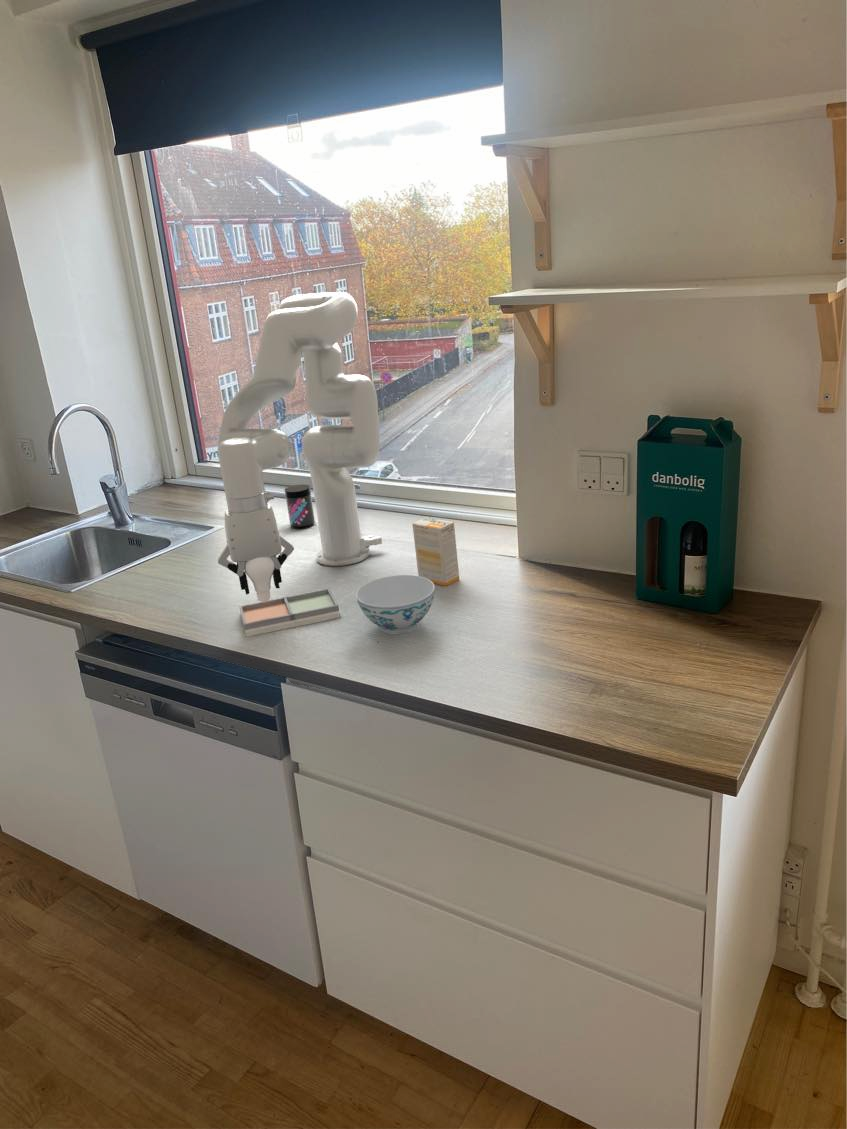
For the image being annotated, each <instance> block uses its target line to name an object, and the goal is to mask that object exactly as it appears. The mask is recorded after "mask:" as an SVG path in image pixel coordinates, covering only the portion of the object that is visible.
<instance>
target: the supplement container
mask: <svg viewBox="0 0 847 1129" xmlns="http://www.w3.org/2000/svg"><path fill="white" fill-rule="evenodd" d="M311 493H312V491H311V485H308V484H295V485H290V486H287V487H285V488H284V496H285V502H286V507H287V512H288V520H289V525H290V528H292V529H295V530H301V529H302V530H303V529H308V528H311V527H313V526H314V525H315V524H316V523H315V522H316V520H315V512H314V506H313V500H312V494H311Z"/></svg>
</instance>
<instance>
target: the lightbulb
mask: <svg viewBox="0 0 847 1129" xmlns="http://www.w3.org/2000/svg"><path fill="white" fill-rule="evenodd" d="M274 569H275V567H274V563H273V561H272V559H271V558H270V557H260V558H256V559H253V560H250V561H246V562H245V567H244V572H245V573H246V576H247V578H249V580H251V582H252V584H253V585H252V586H254V587H253V588H254V591H255V593H256V597H257V600H258V602H267V601H268V600H271V589H272V587H271V584H272V583H271V582H272V578H273V571H274Z"/></svg>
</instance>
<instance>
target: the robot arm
mask: <svg viewBox="0 0 847 1129" xmlns="http://www.w3.org/2000/svg"><path fill="white" fill-rule="evenodd" d="M358 314H359V312H358V306H357V303H356V301H355V299H354V298H353V296H352V295H351V294H349V293H347V292H343V291H336V292H335V291H334V292H331V291H330V292H319V293H306V294H305V293H303V294H296V295H292V296H289V297H286V298H285V299H283V300H282V301H281V303H279V309H276V310H274V311H272V312H271V313H269V314H268V315H267V316H266V319H265V321H264V323H263V326H262V327H263V328H262V332H261V337H260V342H259V346H258V352H257V357H256V360H255V366H254V370H253V374H252V376H251V378H250V380H248V381H247V382H246V383H245V384H244V385H243V386H242V387H241V388H239V390H238V392H237V393H236V394H235V395H234V397H232V400H230V401H229V403H228V405H227V407H226V409H225V411H224V413H223V415H222V421H221V425H220V428H219V434H218V442H217V444H218V445H217V456H218V461H219V467H220V472H221V476H222V477H221V478H222V482H223V489H224V493H225V499H226V504H227V505H226V506H227V510H225V511H224V531H225V537H226V538H225V539H226V546H225V547H224V549H223V550H222V552H221V553H220V555H219V557H218V558H217V563H218V565H220V566H222V567H225V568H227V569H228V570H229V571H231V572H232V573H233V574H236V576H238V580H239V585H240V586H239V587H240V590H241V591H243V590H244V592H245V595H249V594H250V589H249V582H248V575H247V574H246V572H245V570H244V567H245V562H246V561H250V560H253V559H256V558H260V557H270V558H271V559H272V561H273V563H274V567H275V569H274V571H273V575H272V579H273V583H274V588H275V589H277V590H278V589H280V583H283V580H282V575H281V574H282V573H281V568H282V566H283V564H284V563H285V562H286V560H287V559H288V558H289V556H290V555H291V554H292V553H293V551H294V550H295V548H294V545H293V544H291V543H290V542H289V541H287V539H285V538H284V537H282V535H280V531H279V527H278V523H277V520H276V516H275V512H274V510H273V507H272V505H271V503H269V502H270V501H272V500H275V496H274V492H268V491H266V489H265V483H264V477H263V476H264V475H263V471H266V470H269V469H273V468H278V467H280V466H282V465H283V464H285V463H286V461H287V460H288V459H289V457H290V455H291V452H292V444H291V440H290V438H289V437H288V435H287V434H286V433H285V432H284V431H282V430H279V429H277V428H276V429H274V428H248V426H249V423H250V422H251V420H252V419H253V417H254V416H255V415H257V413H258V412H259V411H261V410H262V409H263V408H265V407H267V406H268V405H271V404H272V403H274V402H276V401H278V400H280V399H282V398H283V397H286V396H287V395H288V394H290V393H291V392H292V391H293V390H294V389H295V387H296V384H297V383H296V382H297V377H298V373H299V367H300V362H301V357H302V358H303V364H304V376H305V377H304V378H305V394H306V405H307V410H308V412H309V414H311V416H312V417H315V418H317V419H323V420H324V419H325V420H341V419H342V420H346V419H348V420H349V419H351V422H352V424H324V425H323V424H322V425H316V426H313V427H311V428H310V429H308V430H307V431H306V432H305V433H304V435H303V438H302V442H301V443H302V445H301V446H302V453H303V456H304V459H305V463H306V464H307V467H308V472H309V474H310V478H311V482H312V483H311V484H312V489H313V490H312V491H313V495H314V496H313V497H314V502H315V509H316V515H317V523H318V530H319V538H320V543H321V550H320V551H318V553H317V554H316V560H317V562H318V563H319V564H322V565H324V566H329V567H337V566H338V567H339V566H340V567H342V566H347V565H352V564H356V563H359V562H362V561H364V560H365V559H367V558H368V557H369V556H370V554H371V552H370V547H371V546H378V545H382V544H383V540H382V537H381V535H379V536H374V535H373V534H371V535H367V536H364V535H362V533H361V526H360V517H359V512H358V502H357V496H356V486H355V482H354V480H353V478H352V476H351V474H350V473H349V471H348V470H347V468H349V469H350V468H352V469H353V468H354V469H355V468H356V469H357V468H358V469H359V468H360V469H365V468H370V467H372V466H373V465H375V464H376V462H377V461H378V458H379V454H380V429H379V428H380V426H379V424H380V423H379V401H378V395H377V393H378V392H377V389H376V387H375V385H374V384H375V383H373V381H372V380H371V379H370V377H368V376H366V375H362V374H345V373H344V366H343V364H344V363H343V355H342V354H343V353H342V350H341V348H340V346H339V344H338V342H339V341H341V340H342V339H344V338H346V336H347V335H349V334H350V333H351V332H352V331H353V330H354V329H355V327H356V324H357V323H358V322H357V321H358V318H359V316H358ZM282 548H284V549H283V550H282ZM229 556H230V560H231V561H230V560H229V559H228V558H229Z"/></svg>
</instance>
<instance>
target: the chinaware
mask: <svg viewBox="0 0 847 1129" xmlns="http://www.w3.org/2000/svg"><path fill="white" fill-rule="evenodd" d="M435 589H436V587H435V583H433V582H432V581H430V580H429V579H427V578H424V577H420V576H418V575H413V574H399V575H397V574H395V575H390V576H389V575H388V576H384V577H379V578H376V579H373V580H371V581H368V582H366V583H364V584H363V585H362V586H361V585H360V587H358V589H357V590H356V592H355V598H356V600H357V604H358V606H359V608H360V610H361V612H362V613H363V614H364V616H365V617H366V619H368V620H369V621H370V622H371V623H372V624H374V625H375V626H377V627H379V628H381V630H382V631H383V632H384V633H387V634H388V635H390V634H391V635H403V634H407V633H409V632H412V631H414V630H415V629H416V628H417V625H418V623H420V621H422V620H423V619H424V618H425V616H427V613H428V612H429V611H430V609H431V607H432V603H433V601H434V596H435Z"/></svg>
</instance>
